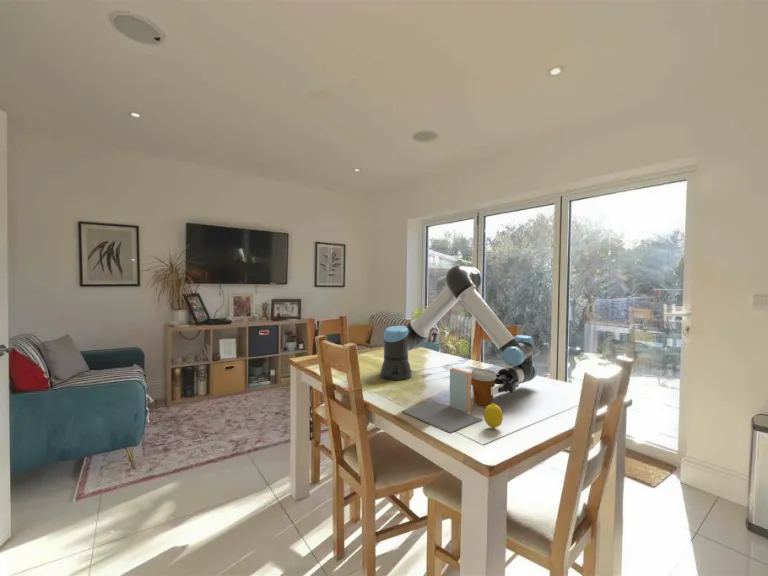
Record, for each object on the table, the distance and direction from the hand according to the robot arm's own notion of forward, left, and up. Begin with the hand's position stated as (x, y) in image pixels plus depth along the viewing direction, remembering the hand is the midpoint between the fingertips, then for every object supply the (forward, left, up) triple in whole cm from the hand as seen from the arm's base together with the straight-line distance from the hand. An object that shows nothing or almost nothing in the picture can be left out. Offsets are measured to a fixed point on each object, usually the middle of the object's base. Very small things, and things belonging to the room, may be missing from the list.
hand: (477, 387), depth 130 cm
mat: (-2, -17, -7) cm, 19 cm away
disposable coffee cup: (0, +4, -7) cm, 8 cm away
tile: (-2, -7, -7) cm, 10 cm away
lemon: (+15, -12, -7) cm, 21 cm away
